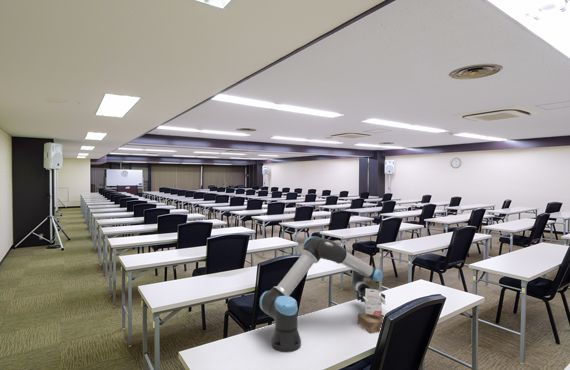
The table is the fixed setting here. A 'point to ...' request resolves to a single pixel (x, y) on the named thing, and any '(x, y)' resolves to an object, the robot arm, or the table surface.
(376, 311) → the ink cartridge box
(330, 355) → the table surface
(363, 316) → the walnut block
